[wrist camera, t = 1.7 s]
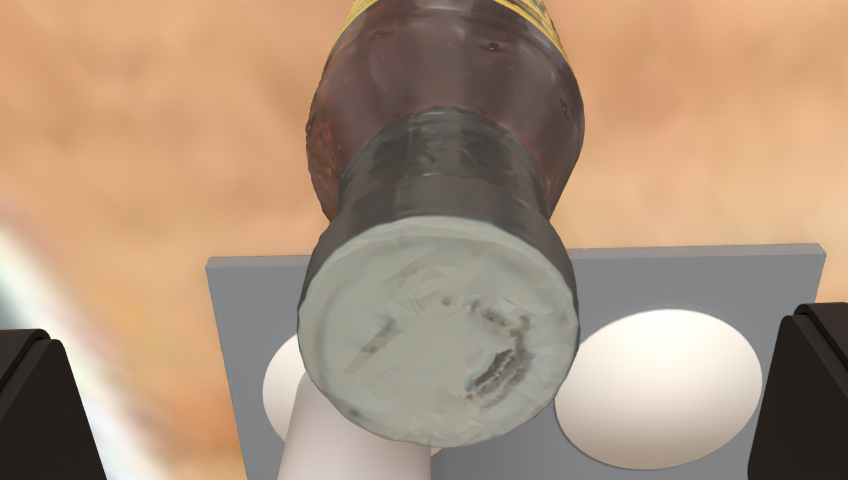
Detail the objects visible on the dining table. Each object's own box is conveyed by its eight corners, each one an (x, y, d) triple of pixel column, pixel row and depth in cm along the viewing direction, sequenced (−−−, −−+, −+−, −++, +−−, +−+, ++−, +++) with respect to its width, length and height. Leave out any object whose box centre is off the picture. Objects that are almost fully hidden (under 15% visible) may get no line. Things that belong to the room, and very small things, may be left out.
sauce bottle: (564, 48, 29) (746, 449, 12) (411, 123, 31) (379, 575, 14) (485, -128, 26) (576, 72, 9) (320, -35, 28) (136, 283, 11)
